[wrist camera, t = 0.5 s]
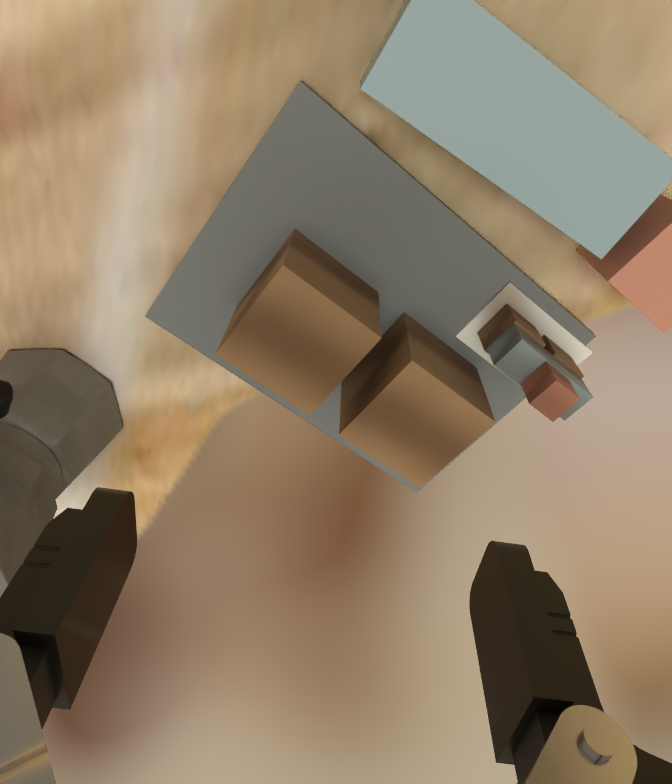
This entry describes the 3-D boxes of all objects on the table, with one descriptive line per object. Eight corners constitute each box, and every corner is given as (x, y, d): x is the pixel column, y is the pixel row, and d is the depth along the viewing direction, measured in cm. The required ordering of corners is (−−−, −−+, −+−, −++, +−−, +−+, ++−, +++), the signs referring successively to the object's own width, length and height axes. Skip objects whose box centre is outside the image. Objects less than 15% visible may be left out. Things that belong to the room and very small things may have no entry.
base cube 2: (404, 312, 35) (412, 360, 30) (476, 367, 36) (495, 422, 31) (341, 379, 37) (338, 434, 32) (412, 428, 39) (420, 488, 34)
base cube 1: (295, 228, 32) (283, 265, 27) (378, 292, 34) (381, 337, 29) (236, 307, 35) (215, 353, 30) (316, 362, 37) (309, 415, 32)
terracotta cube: (642, 184, 31) (687, 208, 27) (693, 236, 32) (744, 267, 28) (575, 249, 33) (607, 281, 29) (626, 295, 34) (664, 332, 30)
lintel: (419, -24, 27) (430, -35, 23) (638, 148, 30) (683, 167, 26) (360, 80, 29) (360, 89, 25) (569, 229, 33) (601, 259, 28)
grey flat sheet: (301, 80, 29) (300, 81, 28) (592, 331, 36) (595, 336, 35) (148, 312, 36) (145, 316, 35) (415, 487, 42) (416, 492, 42)
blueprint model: (508, 280, 33) (539, 331, 28) (591, 351, 36) (635, 410, 30) (455, 335, 35) (473, 392, 30) (536, 398, 37) (568, 462, 32)
